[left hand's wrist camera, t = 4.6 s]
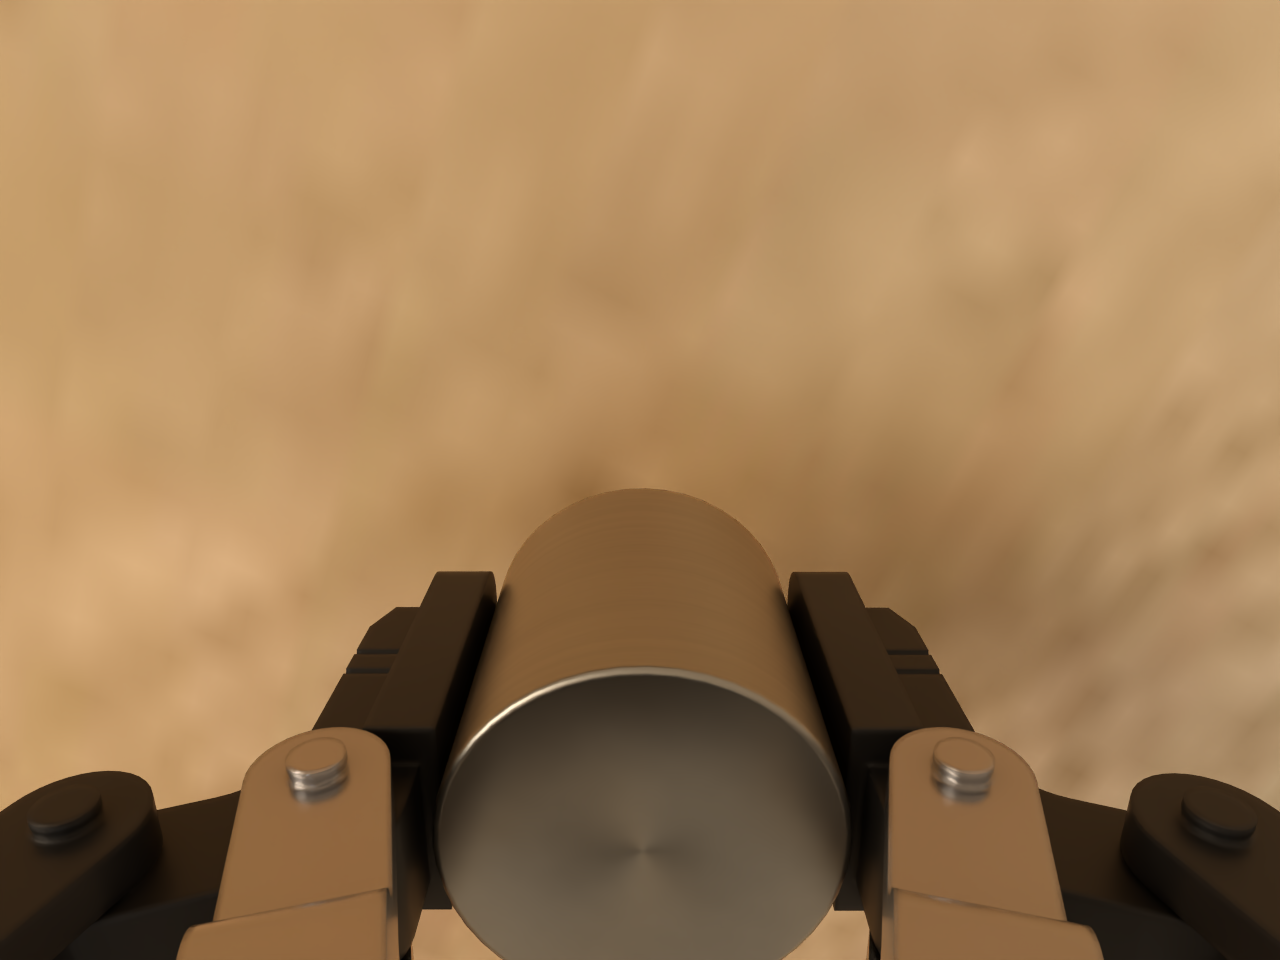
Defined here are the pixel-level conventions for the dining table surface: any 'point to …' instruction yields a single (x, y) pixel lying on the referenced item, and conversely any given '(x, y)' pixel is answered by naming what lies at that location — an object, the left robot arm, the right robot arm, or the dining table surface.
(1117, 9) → the dining table surface
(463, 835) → the canister
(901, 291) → the dining table surface
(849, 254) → the dining table surface
